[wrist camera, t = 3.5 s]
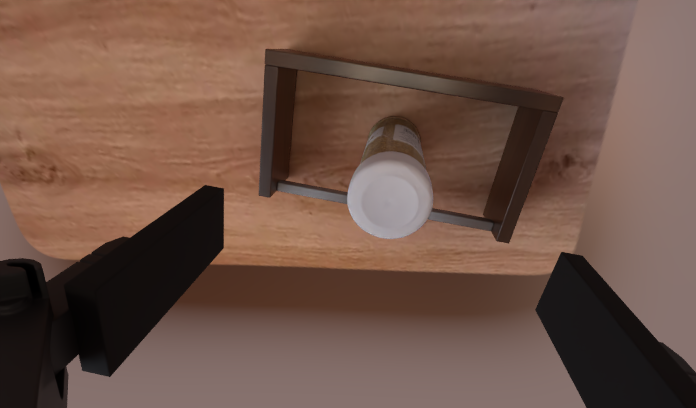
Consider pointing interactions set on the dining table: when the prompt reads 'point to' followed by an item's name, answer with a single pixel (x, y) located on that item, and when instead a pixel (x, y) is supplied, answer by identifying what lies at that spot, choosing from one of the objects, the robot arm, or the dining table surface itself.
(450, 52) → the dining table surface
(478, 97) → the spice rack
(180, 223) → the robot arm
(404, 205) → the spice jar
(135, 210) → the dining table surface
